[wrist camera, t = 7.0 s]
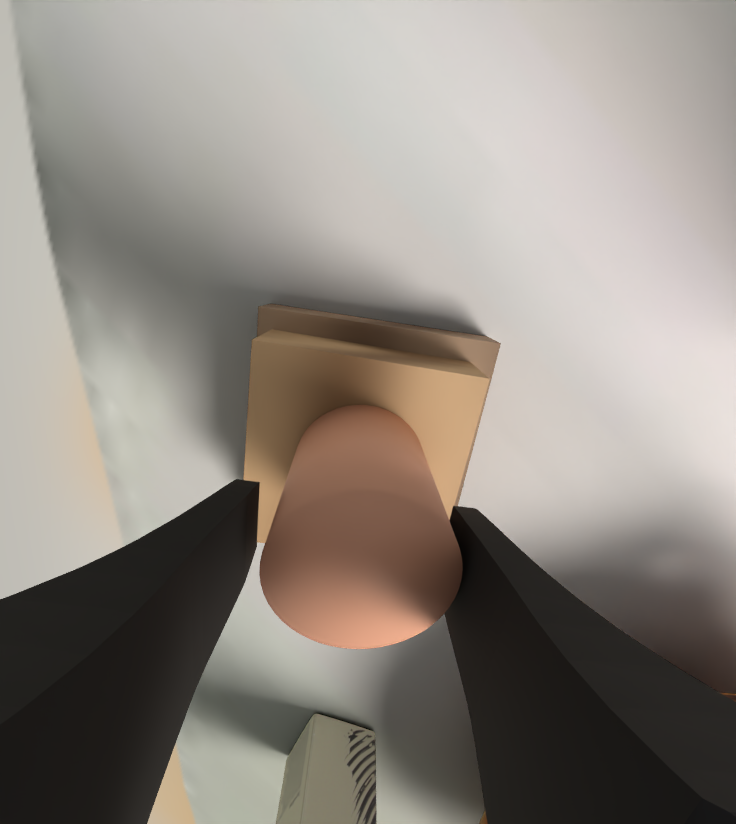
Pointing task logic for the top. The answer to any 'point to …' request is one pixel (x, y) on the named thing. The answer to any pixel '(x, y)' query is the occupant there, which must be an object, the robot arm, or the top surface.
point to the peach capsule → (360, 535)
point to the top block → (354, 385)
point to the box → (330, 775)
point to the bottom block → (385, 339)
